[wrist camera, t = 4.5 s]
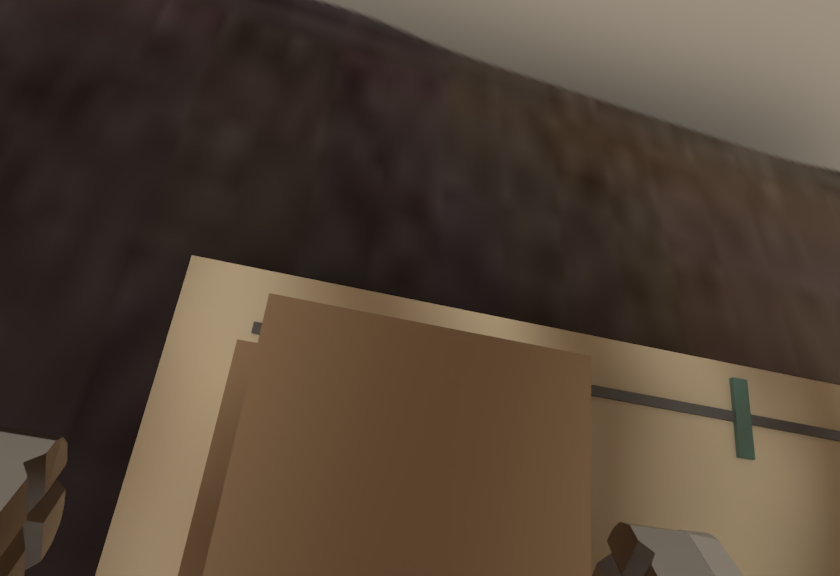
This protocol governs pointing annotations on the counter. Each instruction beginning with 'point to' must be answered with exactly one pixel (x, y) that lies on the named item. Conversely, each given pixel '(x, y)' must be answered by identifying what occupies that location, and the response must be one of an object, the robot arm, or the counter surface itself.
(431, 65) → the counter surface
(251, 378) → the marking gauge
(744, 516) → the birch board
